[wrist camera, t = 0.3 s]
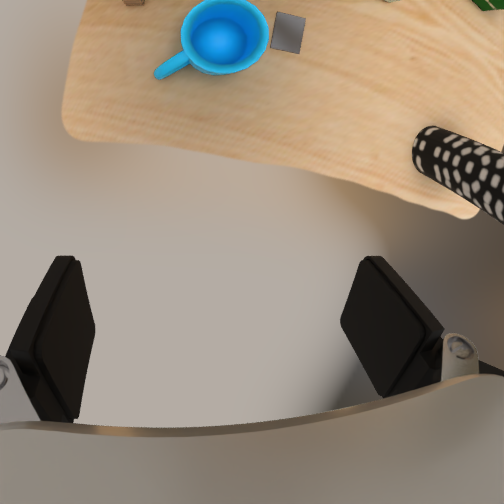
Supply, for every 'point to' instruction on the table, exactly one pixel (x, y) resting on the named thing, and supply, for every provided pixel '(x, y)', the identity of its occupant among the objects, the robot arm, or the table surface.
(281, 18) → the dock
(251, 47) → the mug
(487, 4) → the milk carton
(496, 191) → the white-spotted black cylinder
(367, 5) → the table surface
